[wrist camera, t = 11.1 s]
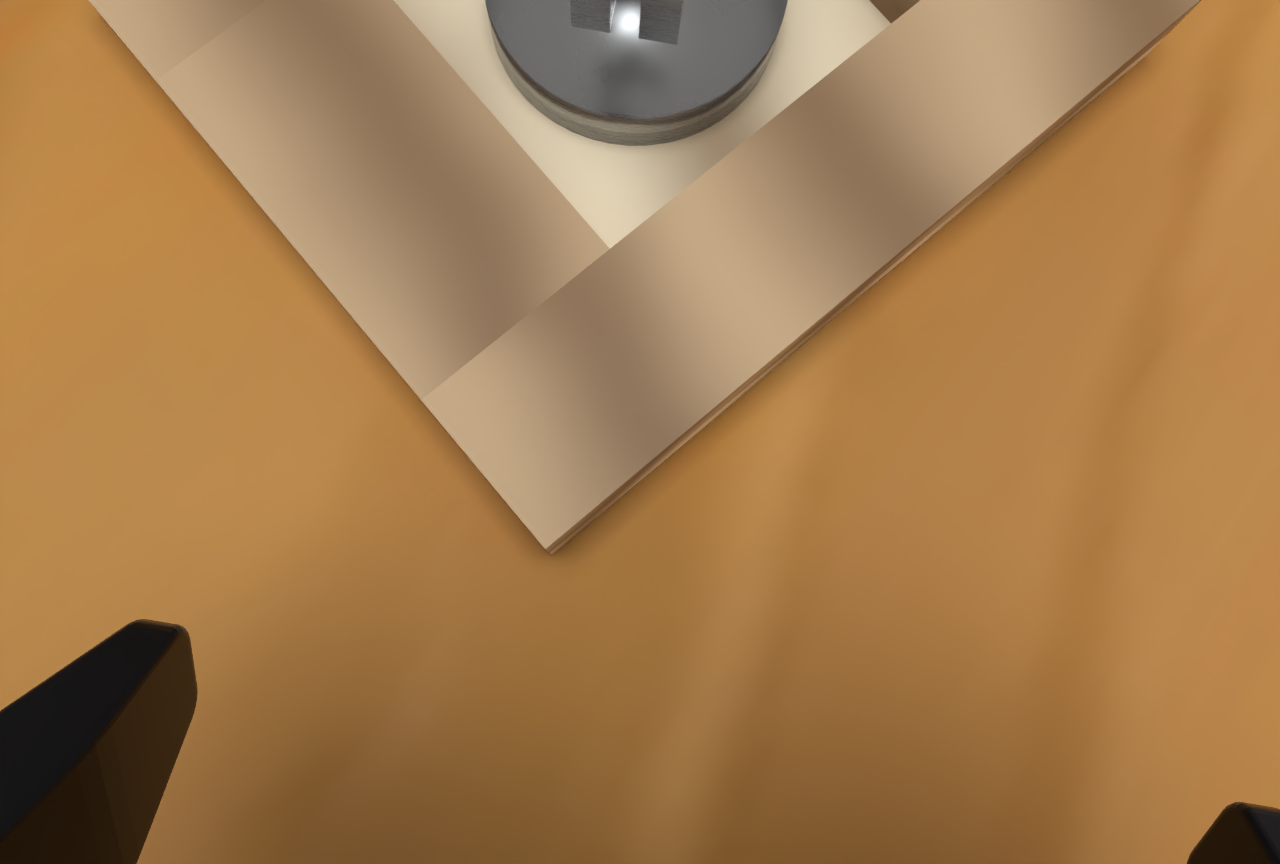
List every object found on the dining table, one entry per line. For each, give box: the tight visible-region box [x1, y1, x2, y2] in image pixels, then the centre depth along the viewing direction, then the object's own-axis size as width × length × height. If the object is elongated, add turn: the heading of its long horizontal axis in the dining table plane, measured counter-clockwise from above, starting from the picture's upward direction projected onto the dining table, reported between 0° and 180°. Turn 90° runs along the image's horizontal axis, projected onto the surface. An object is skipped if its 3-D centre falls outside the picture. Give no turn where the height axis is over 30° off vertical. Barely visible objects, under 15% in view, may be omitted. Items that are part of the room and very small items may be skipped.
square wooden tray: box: [89, 0, 1201, 556], centre depth 24 cm, size 18×16×2 cm
